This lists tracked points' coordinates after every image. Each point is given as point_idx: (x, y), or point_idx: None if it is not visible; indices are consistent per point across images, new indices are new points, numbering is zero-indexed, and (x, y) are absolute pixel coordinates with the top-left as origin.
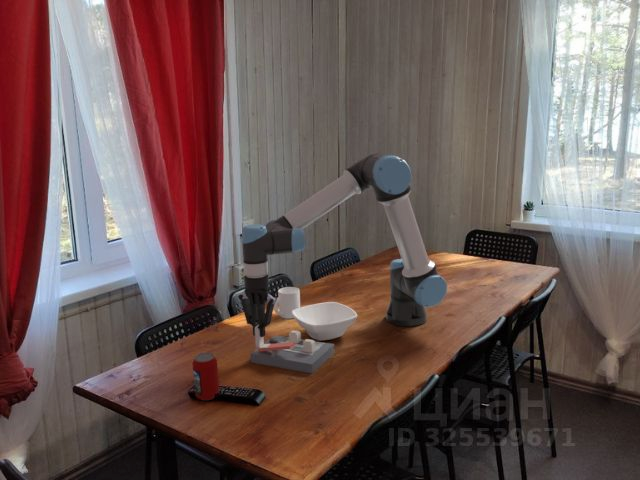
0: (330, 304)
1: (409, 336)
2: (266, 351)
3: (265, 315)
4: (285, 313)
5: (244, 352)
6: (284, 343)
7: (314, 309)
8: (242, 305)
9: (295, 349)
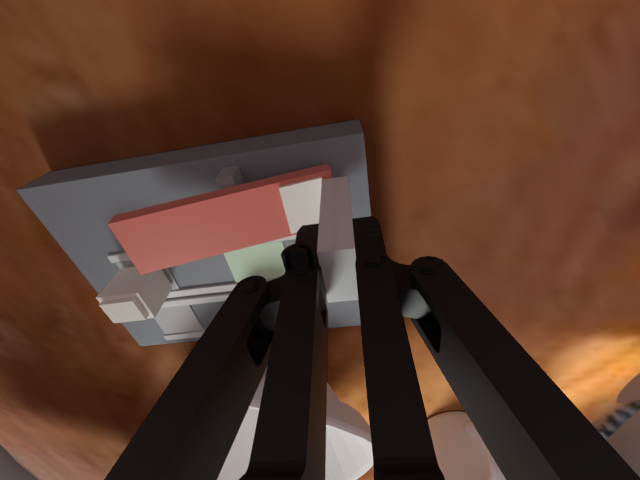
0: None
1: (104, 430)
2: None
3: (213, 372)
4: (456, 428)
5: (453, 187)
6: (193, 248)
7: (336, 465)
8: (615, 455)
9: (209, 266)
